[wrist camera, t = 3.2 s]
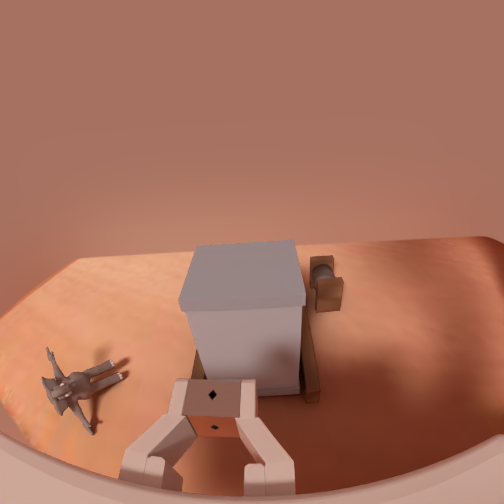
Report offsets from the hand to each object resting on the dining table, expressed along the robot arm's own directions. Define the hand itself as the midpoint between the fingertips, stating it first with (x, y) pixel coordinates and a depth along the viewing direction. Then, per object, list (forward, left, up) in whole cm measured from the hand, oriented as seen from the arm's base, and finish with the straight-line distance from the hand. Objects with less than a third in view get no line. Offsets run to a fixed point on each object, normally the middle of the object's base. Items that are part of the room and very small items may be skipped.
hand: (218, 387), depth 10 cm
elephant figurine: (+18, -7, -15) cm, 24 cm away
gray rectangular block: (0, -12, -15) cm, 19 cm away
